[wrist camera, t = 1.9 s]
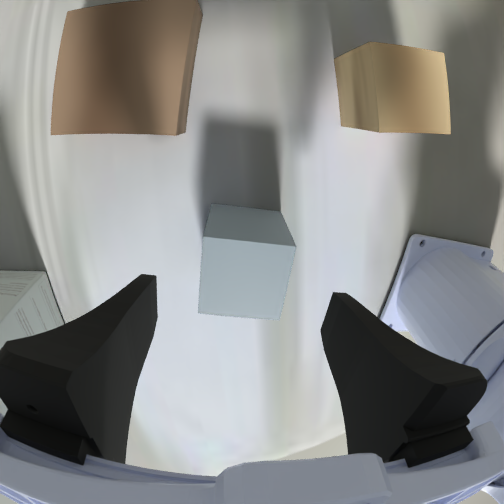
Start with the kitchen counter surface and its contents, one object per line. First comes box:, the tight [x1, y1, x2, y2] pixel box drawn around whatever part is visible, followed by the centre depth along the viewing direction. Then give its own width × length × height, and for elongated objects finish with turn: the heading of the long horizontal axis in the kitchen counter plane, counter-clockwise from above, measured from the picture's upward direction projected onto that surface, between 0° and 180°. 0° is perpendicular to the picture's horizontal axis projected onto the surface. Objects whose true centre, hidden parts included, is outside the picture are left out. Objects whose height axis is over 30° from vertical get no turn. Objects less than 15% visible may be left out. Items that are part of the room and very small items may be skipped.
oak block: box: [334, 42, 451, 134], centre depth 12 cm, size 4×4×5 cm
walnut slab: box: [51, 0, 203, 136], centre depth 13 cm, size 7×7×3 cm
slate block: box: [198, 204, 296, 320], centre depth 16 cm, size 4×4×5 cm
